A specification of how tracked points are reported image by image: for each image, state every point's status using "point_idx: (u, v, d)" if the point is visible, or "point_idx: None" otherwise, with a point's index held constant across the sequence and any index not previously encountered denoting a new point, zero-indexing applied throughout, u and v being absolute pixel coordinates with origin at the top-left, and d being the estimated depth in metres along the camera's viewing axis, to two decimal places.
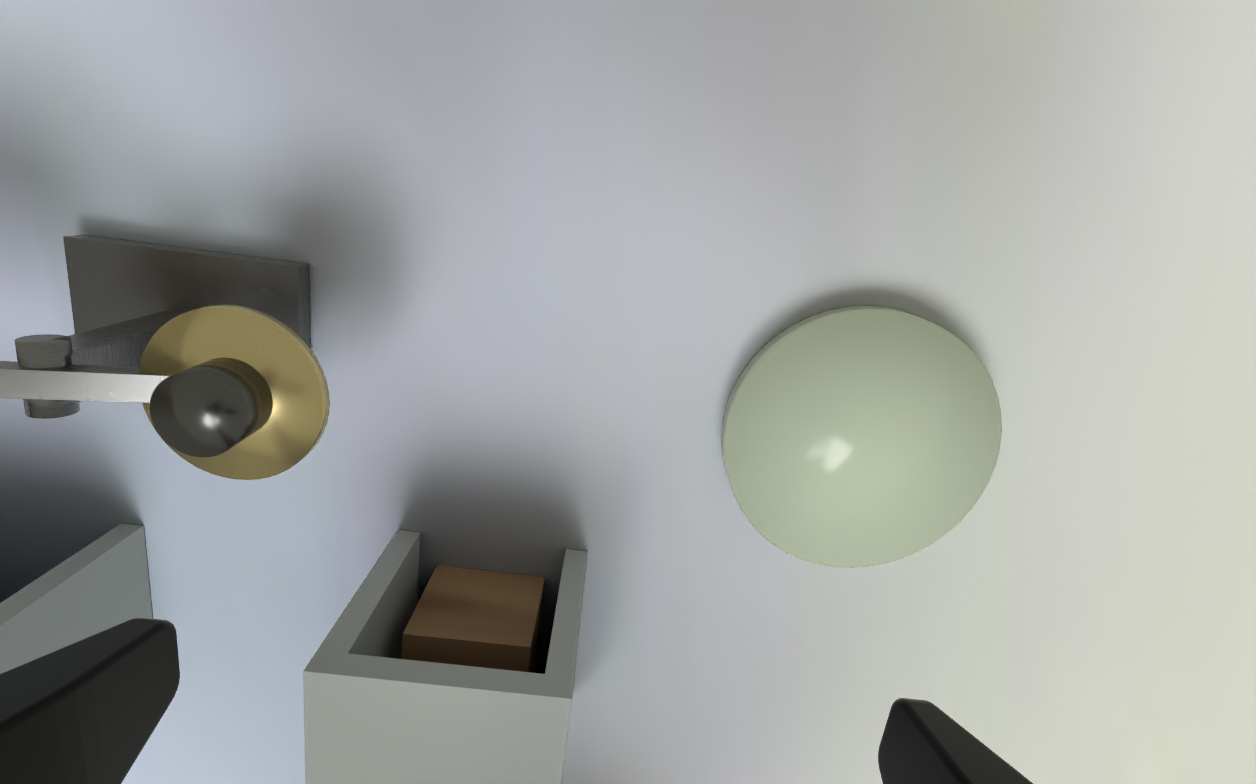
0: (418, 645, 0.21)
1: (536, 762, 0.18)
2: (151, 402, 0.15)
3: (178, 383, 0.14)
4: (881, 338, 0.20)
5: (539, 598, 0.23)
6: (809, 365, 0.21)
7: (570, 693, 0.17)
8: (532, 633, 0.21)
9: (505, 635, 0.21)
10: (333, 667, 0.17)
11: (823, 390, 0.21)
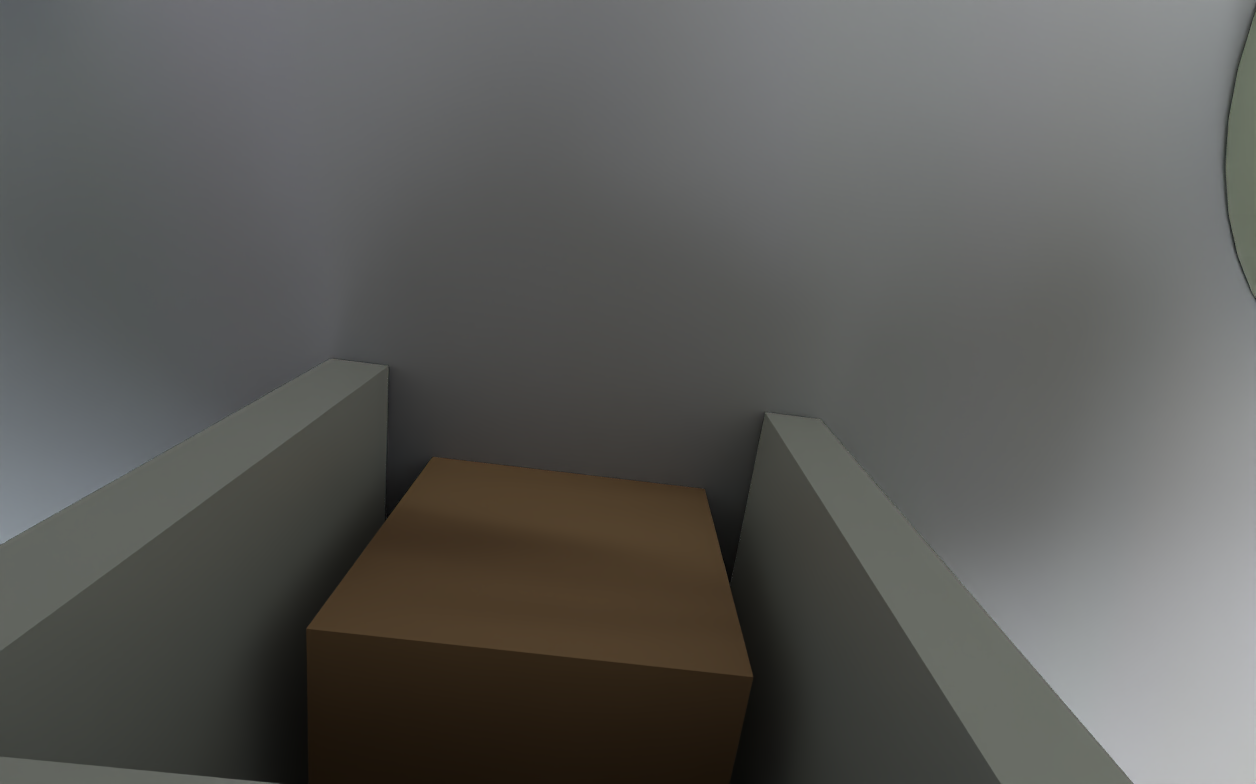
0: (361, 671, 0.06)
1: None
2: None
3: None
4: None
5: (713, 534, 0.08)
6: None
7: None
8: (736, 630, 0.07)
9: (657, 636, 0.06)
10: None
11: None
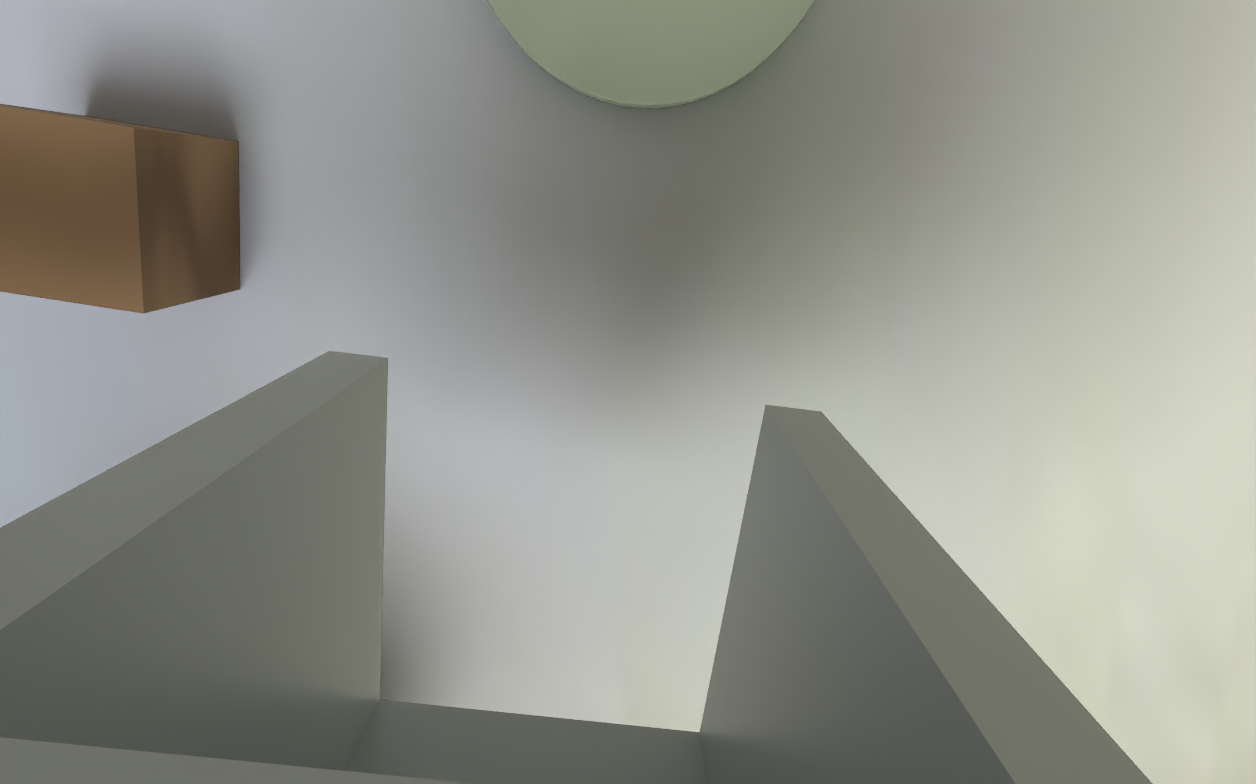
0: None
1: None
2: None
3: None
4: None
5: (206, 137, 0.16)
6: None
7: None
8: (155, 132, 0.15)
9: (107, 123, 0.14)
10: None
11: None
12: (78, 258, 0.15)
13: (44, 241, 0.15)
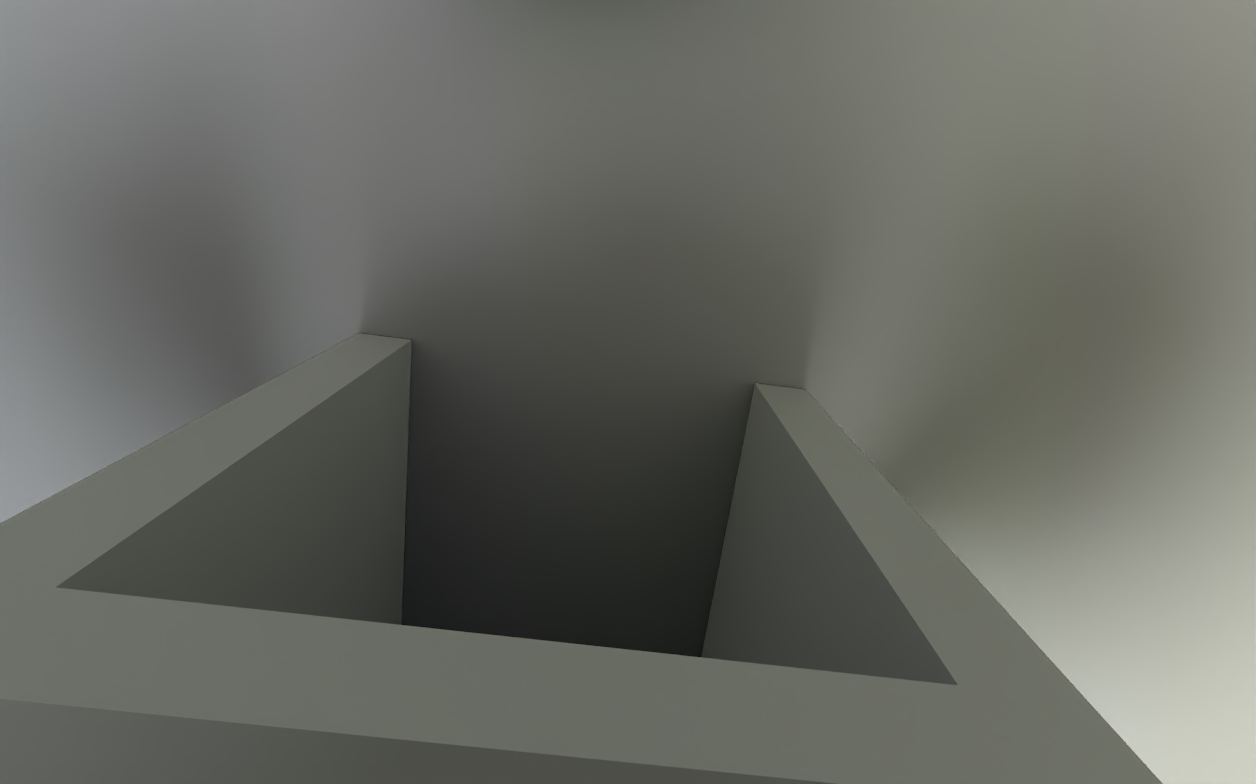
0: None
1: None
2: None
3: None
4: None
5: None
6: None
7: None
8: None
9: None
10: None
11: None
12: None
13: None
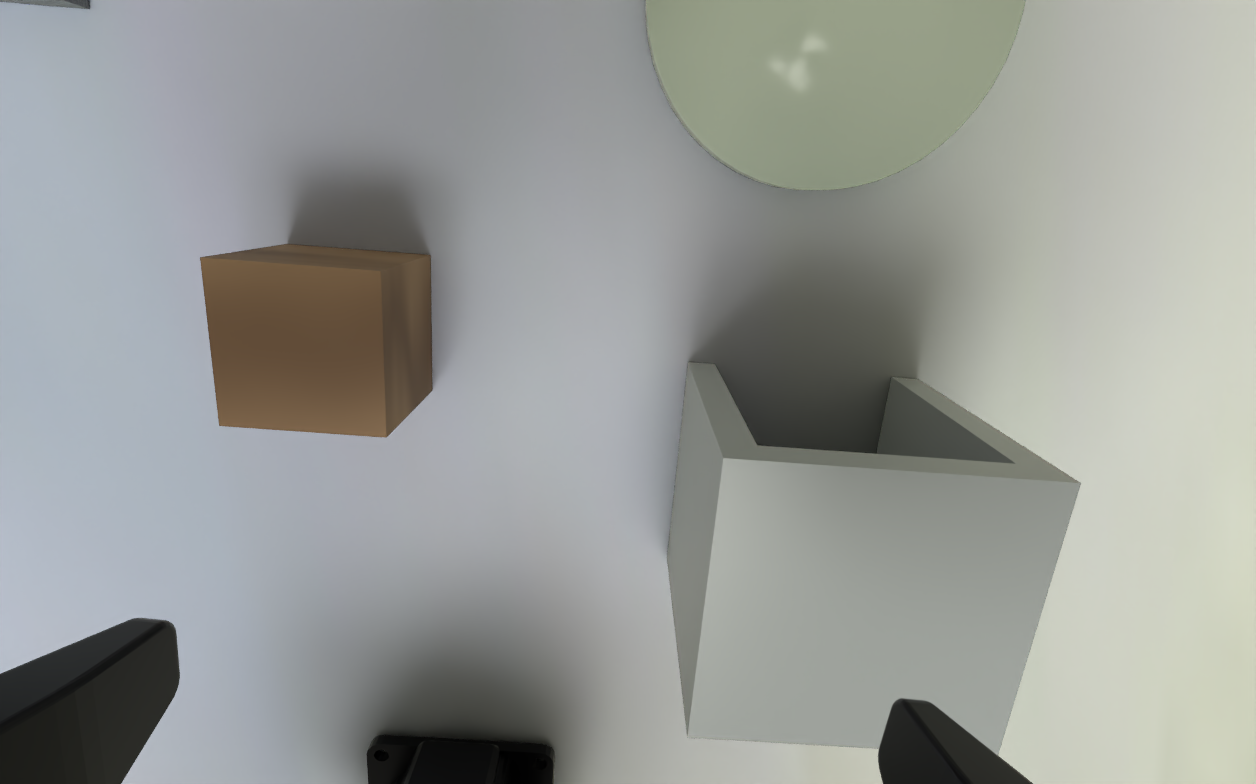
0: (224, 276, 0.15)
1: (1014, 580, 0.13)
2: None
3: None
4: None
5: (414, 259, 0.17)
6: None
7: (1071, 478, 0.13)
8: (390, 269, 0.15)
9: (349, 266, 0.15)
10: (754, 456, 0.13)
11: None
12: (326, 392, 0.16)
13: (295, 380, 0.15)
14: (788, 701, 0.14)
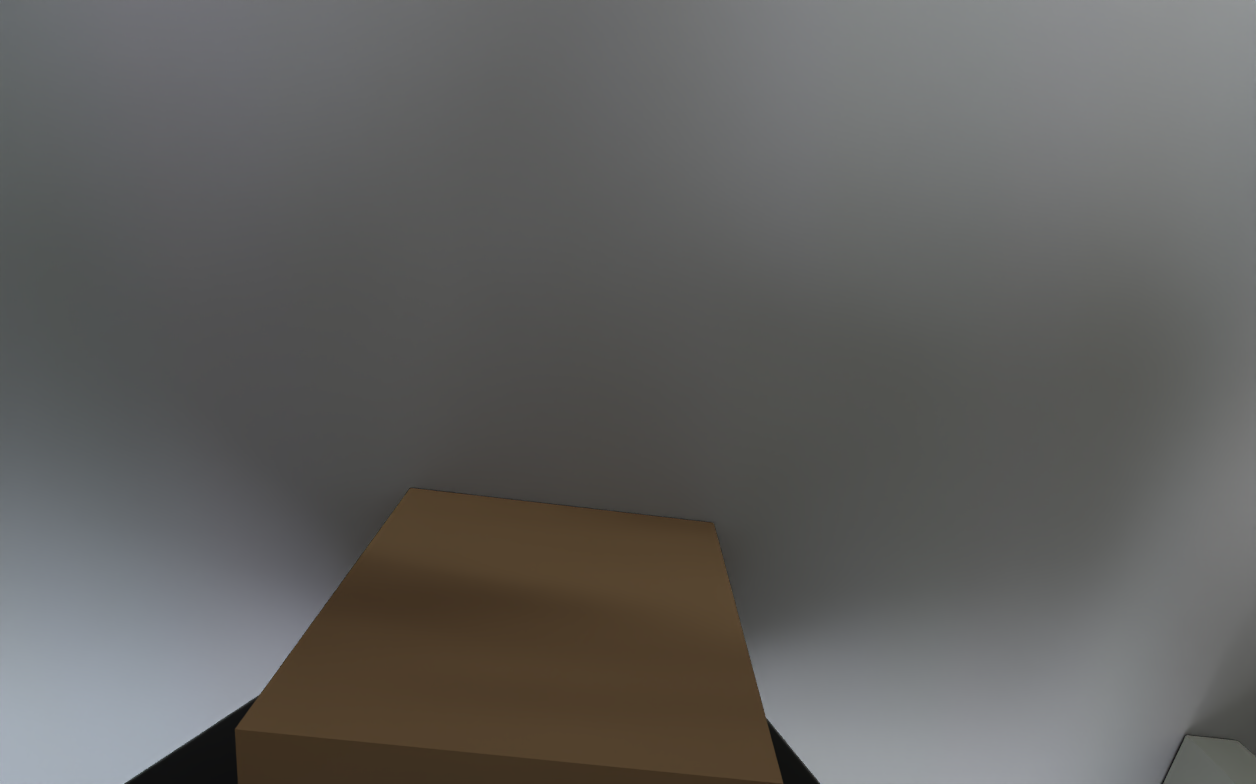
0: (305, 777, 0.05)
1: None
2: None
3: None
4: None
5: (727, 584, 0.07)
6: None
7: None
8: (759, 713, 0.06)
9: (665, 726, 0.05)
10: None
11: None
12: None
13: None
14: None
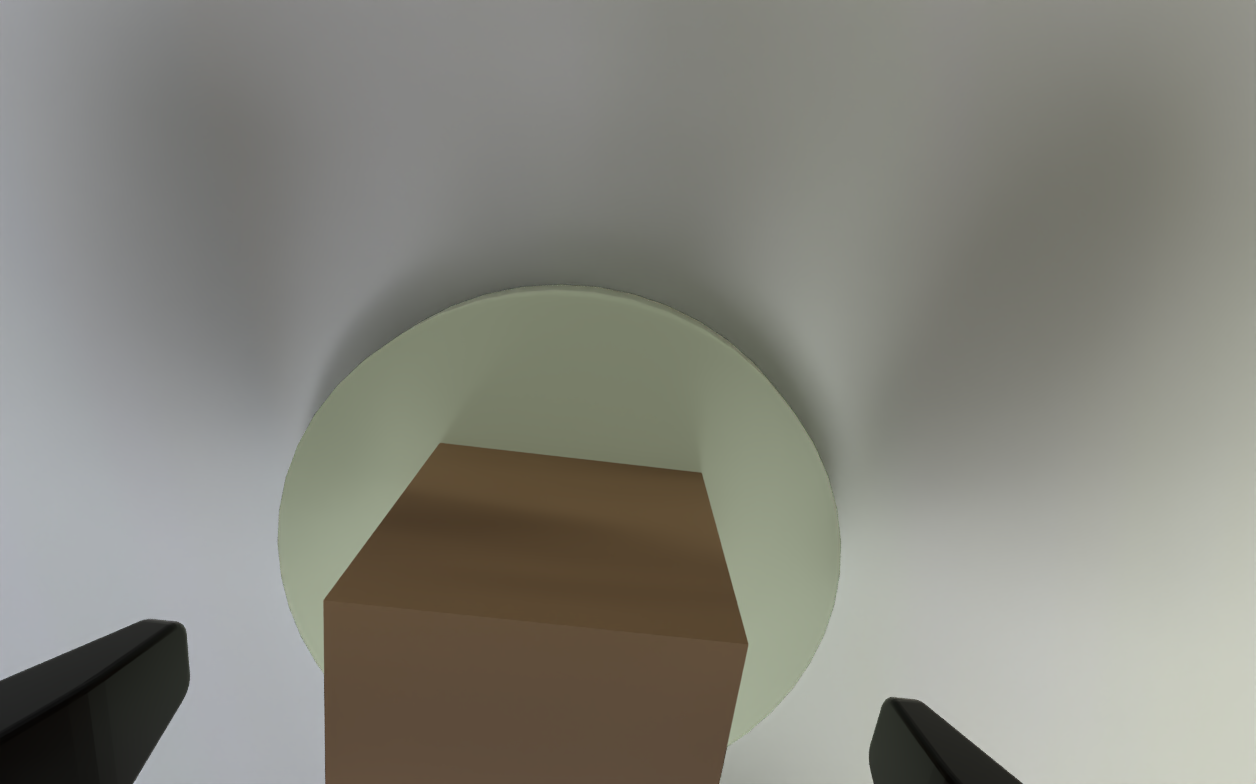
0: (376, 641, 0.06)
1: None
2: None
3: None
4: (566, 353, 0.10)
5: (711, 516, 0.09)
6: (420, 411, 0.10)
7: None
8: (733, 602, 0.07)
9: (657, 607, 0.07)
10: None
11: None
12: None
13: None
14: None
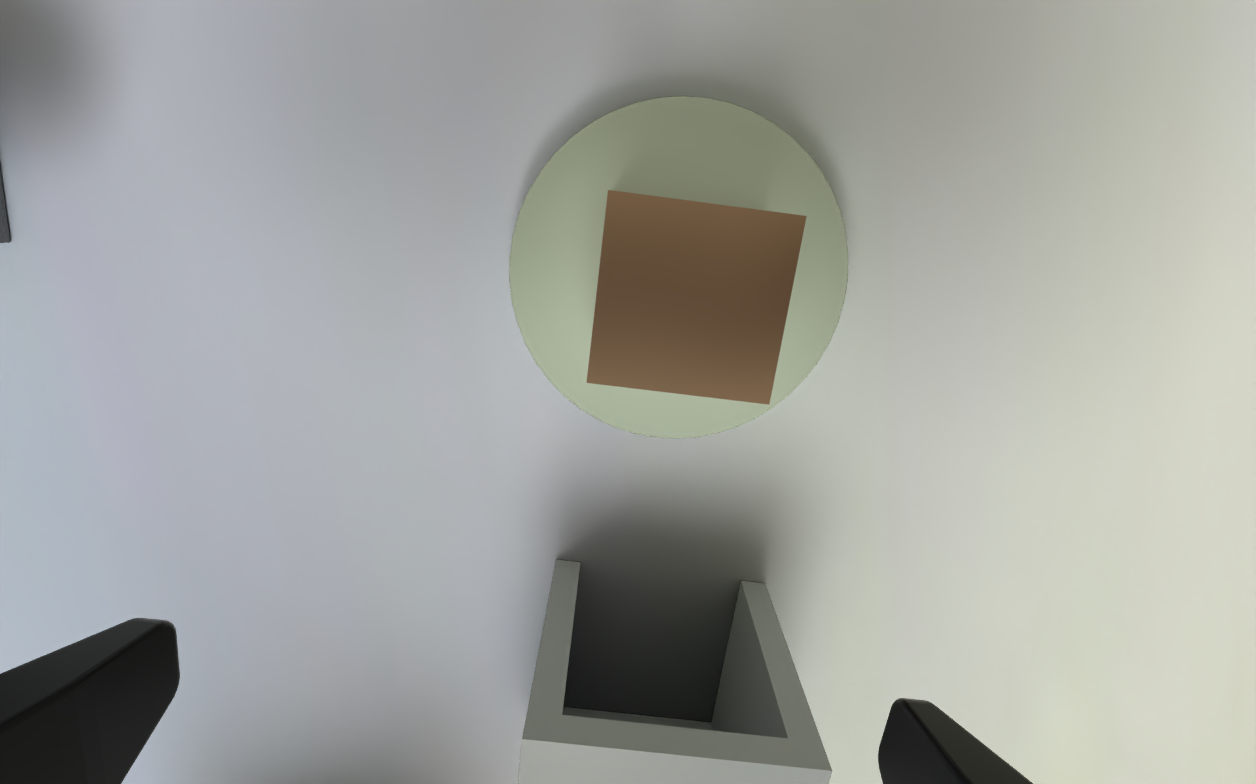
0: (630, 213, 0.13)
1: None
2: None
3: None
4: (689, 132, 0.16)
5: None
6: (602, 169, 0.17)
7: (827, 763, 0.15)
8: None
9: None
10: (552, 733, 0.15)
11: None
12: (714, 351, 0.14)
13: (683, 335, 0.14)
14: None
